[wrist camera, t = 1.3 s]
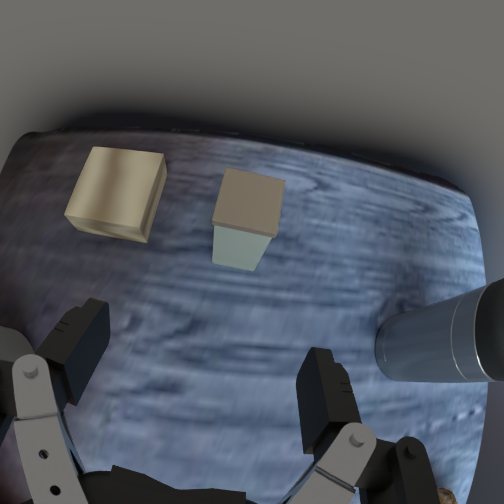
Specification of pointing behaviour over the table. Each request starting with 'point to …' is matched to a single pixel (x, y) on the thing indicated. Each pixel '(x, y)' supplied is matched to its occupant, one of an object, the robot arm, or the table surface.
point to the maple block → (118, 193)
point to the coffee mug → (13, 345)
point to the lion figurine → (446, 496)
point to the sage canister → (245, 218)
